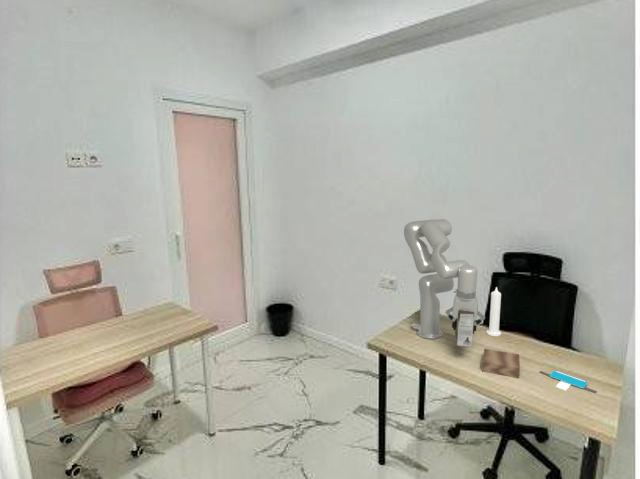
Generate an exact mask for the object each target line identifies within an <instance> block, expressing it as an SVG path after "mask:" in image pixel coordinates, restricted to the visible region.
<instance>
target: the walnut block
mask: <svg viewBox="0 0 640 479" xmlns="http://www.w3.org/2000/svg"><path fill="white" fill-rule="evenodd" d="M520 363H521V362H520V354H519V353H514V352H507V351H501V350H495V349H490V348H483V358H482V368H481V371H482V373H487V374H488V373H489V374H493V375H499V376H504V377H508V378H514V379H518V380H519V379H520V370H521V369H520V368H521V364H520Z"/></svg>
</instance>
